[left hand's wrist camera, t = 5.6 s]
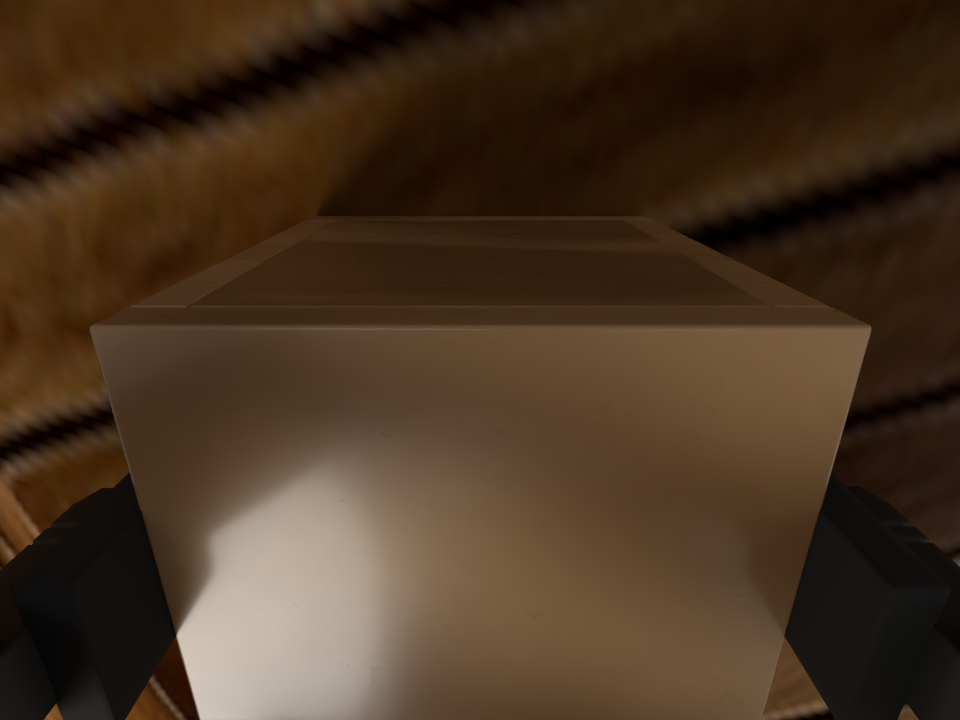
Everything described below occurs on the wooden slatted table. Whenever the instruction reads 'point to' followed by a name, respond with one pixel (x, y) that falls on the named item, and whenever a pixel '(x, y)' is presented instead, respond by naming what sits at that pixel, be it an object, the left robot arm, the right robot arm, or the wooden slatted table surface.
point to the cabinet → (480, 468)
